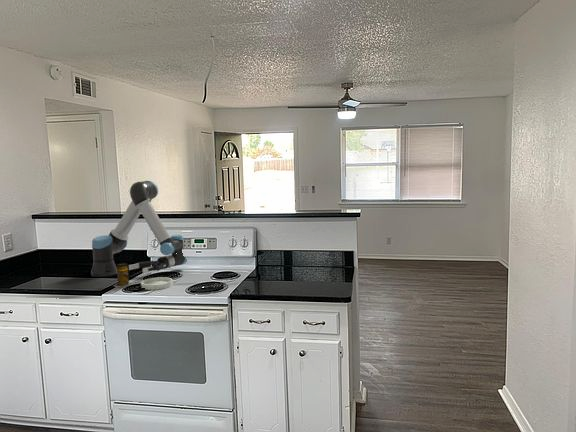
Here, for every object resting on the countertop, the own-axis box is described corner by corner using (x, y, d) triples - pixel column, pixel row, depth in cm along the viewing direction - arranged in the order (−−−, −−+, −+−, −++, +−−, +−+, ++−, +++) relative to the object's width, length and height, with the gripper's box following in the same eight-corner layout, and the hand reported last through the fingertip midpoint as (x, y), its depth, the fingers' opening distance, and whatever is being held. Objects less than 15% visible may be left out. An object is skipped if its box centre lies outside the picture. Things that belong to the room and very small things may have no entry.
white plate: (148, 281, 267) (147, 277, 266) (176, 281, 265) (176, 277, 265) (136, 289, 250) (136, 285, 250) (166, 289, 249) (166, 285, 248)
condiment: (131, 285, 260) (129, 264, 258) (115, 287, 255) (114, 266, 253) (127, 282, 266) (126, 262, 264) (112, 284, 261) (111, 264, 259)
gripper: (179, 270, 277) (149, 278, 260) (153, 265, 292) (124, 272, 275) (178, 258, 276) (148, 265, 259) (152, 254, 291) (123, 260, 274)
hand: (135, 269), depth 267 cm, fingers open, 13 cm apart
